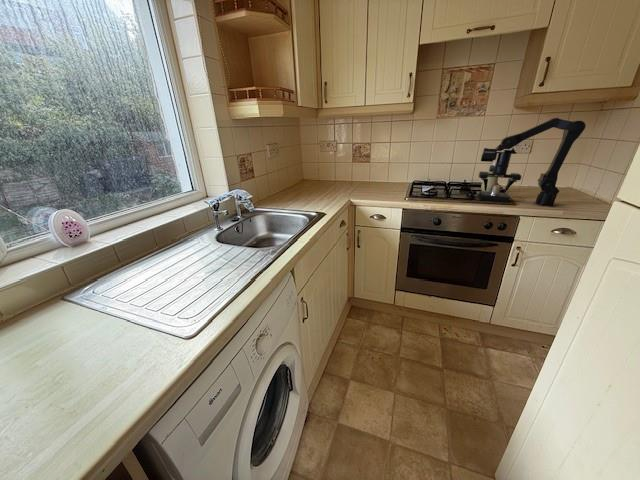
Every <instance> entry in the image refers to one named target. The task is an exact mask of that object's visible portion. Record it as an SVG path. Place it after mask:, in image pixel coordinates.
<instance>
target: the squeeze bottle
mask: <svg viewBox="0 0 640 480" xmlns="http://www.w3.org/2000/svg"><path fill="white" fill-rule="evenodd" d="M496 162H497V161H493V162H492V163H493V164H492V165H494V167H495V165H496ZM487 172H488V173H490V174H492V172H489V169H488V170H487ZM487 179H488V183H487V189H486V192H490V190H491V186H492V185H498V182H499V177H488V178H487ZM480 188H481V191H485V187H484V181H483V180H482V183H481V186H480Z"/></svg>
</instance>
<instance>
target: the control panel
mask: <svg viewBox="0 0 640 480" xmlns="http://www.w3.org/2000/svg"><path fill="white" fill-rule="evenodd" d="M478 198H479V201H484V202H485V201H487V202H495V203H497V202H498V203H508V204H509V201H510V198H511V197H510V195H508V193H507V192H499V195H493V194H490V192H486V191H482V190H479V194H478Z"/></svg>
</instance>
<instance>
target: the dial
mask: <svg viewBox="0 0 640 480" xmlns="http://www.w3.org/2000/svg"><path fill="white" fill-rule="evenodd" d="M501 188H502V185H499V184H497V185H492V186H491V190H490V194H493V195H499V193H501Z"/></svg>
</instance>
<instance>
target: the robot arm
mask: <svg viewBox="0 0 640 480" xmlns="http://www.w3.org/2000/svg"><path fill="white" fill-rule="evenodd" d="M586 126H587V124H586V123H585V122H584V121H583V120H568V119H567V120H566V119H563V118H559V117H552V118H550V119H548V120H546V121H544V122H542V123H539V124H537V125H535V126H533V127H531V128H529V129H527V130H524V131H522V132H519V133H515V134H511V135H508V136H506V137H503V138H502V139H501V141H500V143H499V145H497V146H496V147H495V148H486V147H484V148H483V151H482V154H481V156H480V162H487V163H488V162H489V163H494V161H495V162H496V165H495V167H494V165H493V164H491V165H489V168H488V170H489V171H479V173H478V178H479V179H481V180H482V182H483V181H484V187H485V191H486V189H487V183H488V179H487V178H488V177H498V179H499V178H502V179H507V183H506V186H505V187H504V192H503V193H507V192H508V190H509V188H510V187H511V186H512V185H513V184H514V183H517V182H518V181H522V180H521V179H522V175H521V174H520V173H517V172H511V173H510V174H507V172H508V169H509V165H510V161H511V157H512V155H516V154H517V151H516V150H515V148H514V147H515V146H517V145H519V144H520V143H522V142H524V141H525V140H527V139H530V138H532V137H534V136H536V135H539V134H541V133H543V132H546V131H549V130H550V129H553V128H554V129H558V130H563V133H562V137H561V142H560V144H559V146H558V149H557V151H556V153H555V154H554V156H553V158H552V161H551V163H550V165H549V167H548V168H547V170H546V171H545V173H543V172H542V173H540V176H539V178H538V179H537V180H536V181H537V185H538V187H539V188H540V191H539V193H538V194H537V197H536V199H535V203H536V204H537V205H539V206H547V207H555V201H556V198H557V196H558V194H559V193H560V190H559V188H558V187H557V186H556V185H557V182H558V177H559V171H560V169H561V168H562V166H563V164H564V162H565V160H566V158H567V156H568V154H569V152H570V151H571V149H572V147H573V144H574V143H575V142H576V140H578V139H579V137H580V136H581V135H582V133H583V132H584V131H585V129H586ZM488 172H492V174H490V173H488Z"/></svg>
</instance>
